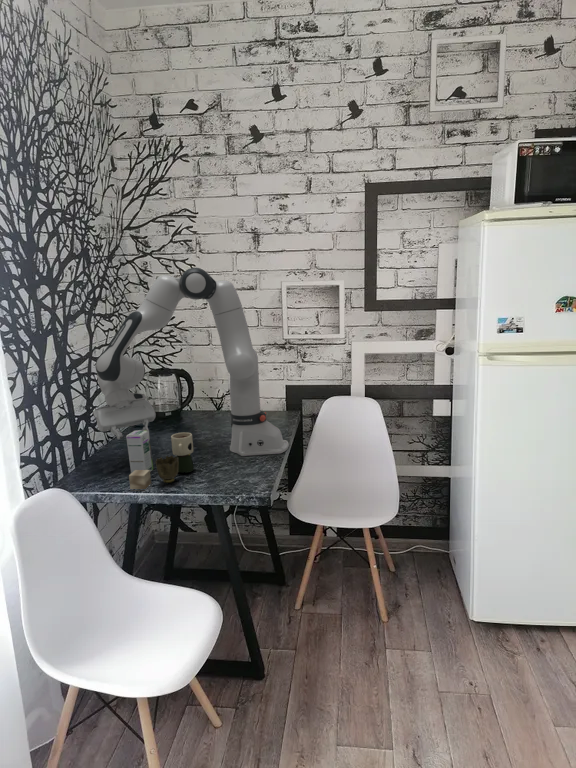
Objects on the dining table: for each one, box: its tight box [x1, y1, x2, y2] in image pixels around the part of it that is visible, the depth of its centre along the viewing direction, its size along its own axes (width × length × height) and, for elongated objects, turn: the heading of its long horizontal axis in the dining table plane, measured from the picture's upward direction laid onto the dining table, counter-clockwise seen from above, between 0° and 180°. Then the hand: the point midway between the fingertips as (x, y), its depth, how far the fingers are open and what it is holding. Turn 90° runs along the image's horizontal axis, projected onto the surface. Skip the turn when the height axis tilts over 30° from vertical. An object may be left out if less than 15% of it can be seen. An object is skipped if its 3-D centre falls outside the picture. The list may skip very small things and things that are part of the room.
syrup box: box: [126, 429, 154, 474], centre depth 191 cm, size 6×6×14 cm
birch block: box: [128, 470, 152, 490], centre depth 178 cm, size 5×5×5 cm
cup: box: [154, 454, 179, 484], centre depth 181 cm, size 8×7×8 cm
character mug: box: [170, 431, 195, 474], centre depth 190 cm, size 11×7×13 cm, turn 3°
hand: (133, 435), depth 193 cm, fingers open, 8 cm apart
